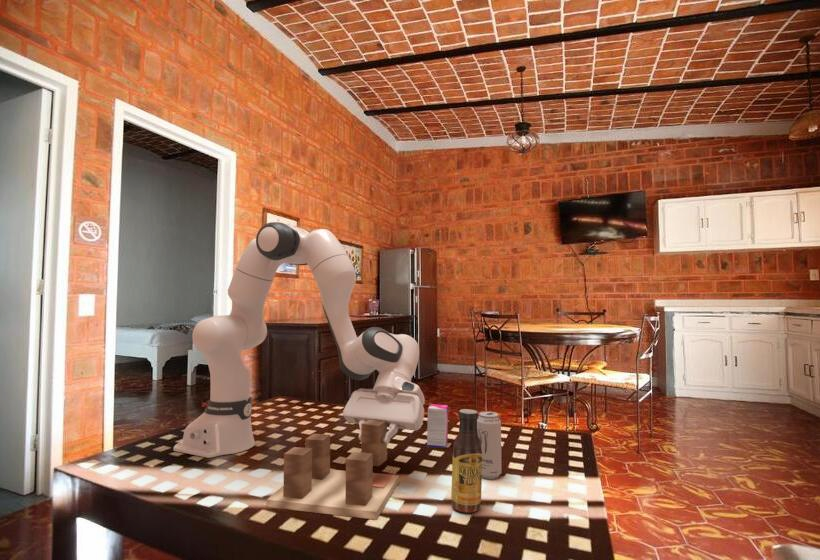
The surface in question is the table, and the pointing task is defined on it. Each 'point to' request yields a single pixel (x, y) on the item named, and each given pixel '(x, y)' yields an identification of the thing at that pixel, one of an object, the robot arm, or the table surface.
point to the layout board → (331, 482)
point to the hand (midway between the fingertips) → (373, 441)
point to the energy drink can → (490, 443)
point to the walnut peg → (374, 440)
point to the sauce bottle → (467, 464)
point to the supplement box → (437, 426)
